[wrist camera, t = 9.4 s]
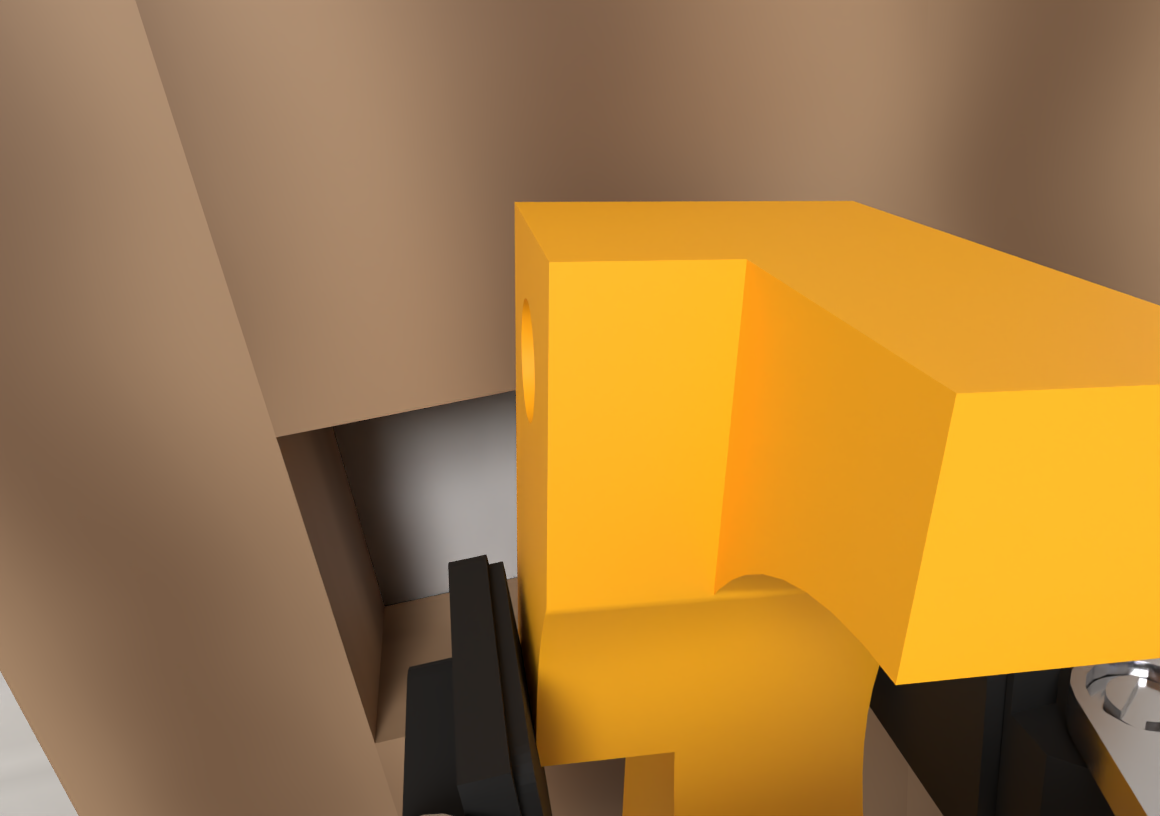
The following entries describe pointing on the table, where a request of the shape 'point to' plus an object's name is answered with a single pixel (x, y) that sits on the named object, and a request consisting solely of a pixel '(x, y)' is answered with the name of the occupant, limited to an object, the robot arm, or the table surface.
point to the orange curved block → (810, 485)
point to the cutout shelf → (419, 310)
